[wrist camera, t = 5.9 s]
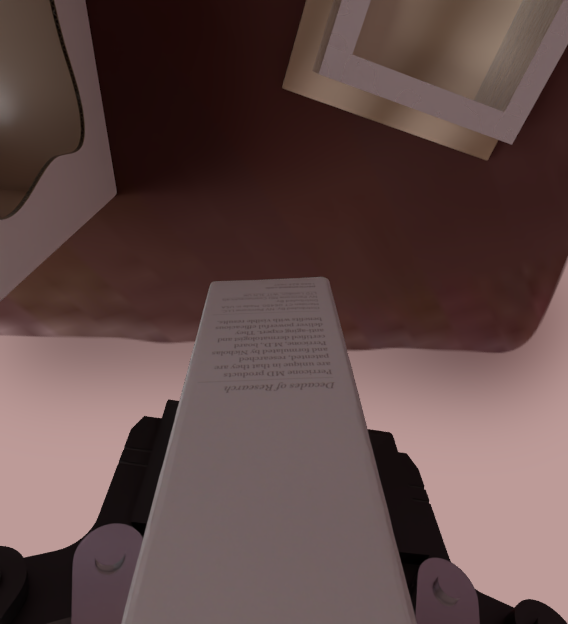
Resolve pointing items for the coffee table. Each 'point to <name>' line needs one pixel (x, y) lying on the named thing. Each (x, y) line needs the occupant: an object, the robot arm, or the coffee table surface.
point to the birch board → (410, 60)
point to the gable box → (48, 133)
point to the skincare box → (269, 476)
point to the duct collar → (444, 104)
